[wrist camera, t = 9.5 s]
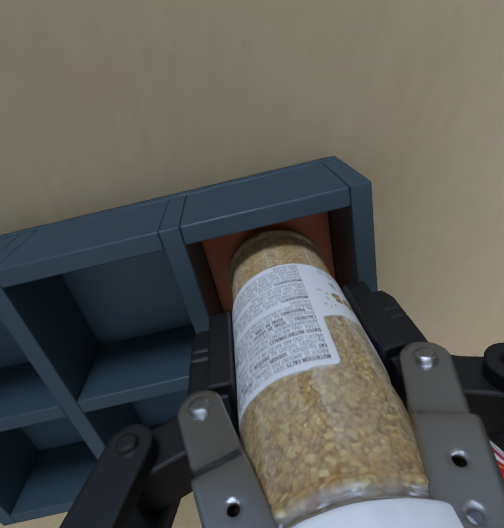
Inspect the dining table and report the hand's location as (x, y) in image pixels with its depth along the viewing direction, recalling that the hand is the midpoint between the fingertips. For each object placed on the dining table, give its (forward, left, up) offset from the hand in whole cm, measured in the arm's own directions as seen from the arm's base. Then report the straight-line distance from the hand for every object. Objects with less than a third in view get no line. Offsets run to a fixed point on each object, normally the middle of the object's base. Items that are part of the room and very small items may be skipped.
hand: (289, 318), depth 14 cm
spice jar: (0, 0, -4) cm, 4 cm away
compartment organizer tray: (-7, -4, -6) cm, 10 cm away
